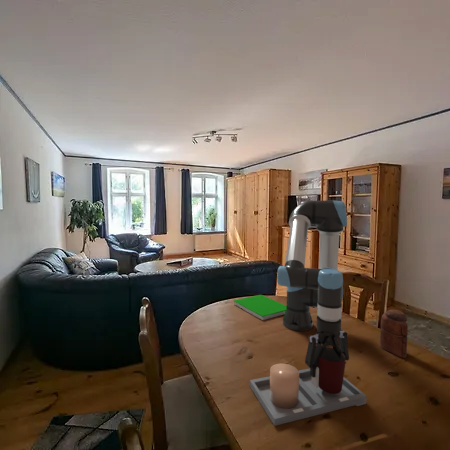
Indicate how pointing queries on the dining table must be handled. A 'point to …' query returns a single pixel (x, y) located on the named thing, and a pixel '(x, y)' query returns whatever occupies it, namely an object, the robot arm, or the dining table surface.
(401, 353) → the brown leather pouch
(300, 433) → the dining table surface
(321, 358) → the mug
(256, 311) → the book
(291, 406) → the peach rounded cylinder
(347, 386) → the holder
